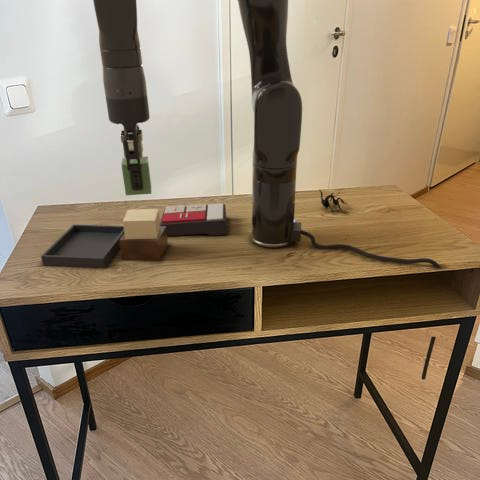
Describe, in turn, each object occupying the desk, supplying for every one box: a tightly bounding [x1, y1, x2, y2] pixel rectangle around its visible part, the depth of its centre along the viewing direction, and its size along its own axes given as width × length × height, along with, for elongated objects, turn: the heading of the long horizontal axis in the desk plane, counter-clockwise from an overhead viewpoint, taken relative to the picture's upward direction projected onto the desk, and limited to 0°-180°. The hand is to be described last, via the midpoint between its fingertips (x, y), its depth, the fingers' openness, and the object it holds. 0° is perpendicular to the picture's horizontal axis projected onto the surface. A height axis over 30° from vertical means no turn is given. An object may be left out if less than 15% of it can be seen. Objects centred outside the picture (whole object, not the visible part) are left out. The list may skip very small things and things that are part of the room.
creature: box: [318, 189, 349, 213], centre depth 128 cm, size 8×5×8 cm
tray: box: [40, 224, 125, 269], centre depth 109 cm, size 13×17×2 cm
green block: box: [121, 156, 152, 196], centre depth 99 cm, size 5×5×6 cm
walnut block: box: [119, 226, 169, 262], centre depth 107 cm, size 8×8×4 cm
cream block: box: [122, 208, 161, 239], centre depth 105 cm, size 6×6×4 cm
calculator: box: [160, 202, 227, 237], centre depth 119 cm, size 11×4×15 cm
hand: (138, 185), depth 100 cm, fingers closed on green block, 5 cm apart
